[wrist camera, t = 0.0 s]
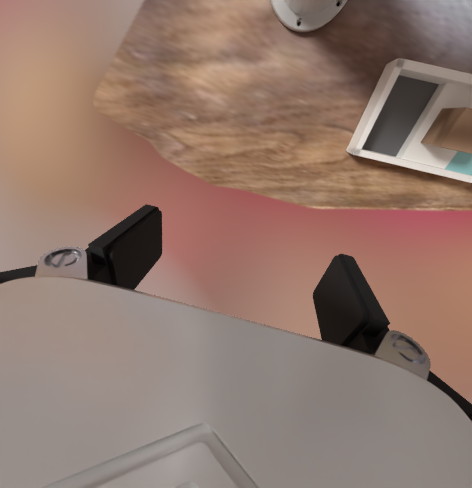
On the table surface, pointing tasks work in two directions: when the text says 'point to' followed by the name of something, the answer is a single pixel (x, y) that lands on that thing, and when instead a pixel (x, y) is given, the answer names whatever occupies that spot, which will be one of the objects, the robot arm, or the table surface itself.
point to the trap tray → (413, 118)
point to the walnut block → (451, 130)
